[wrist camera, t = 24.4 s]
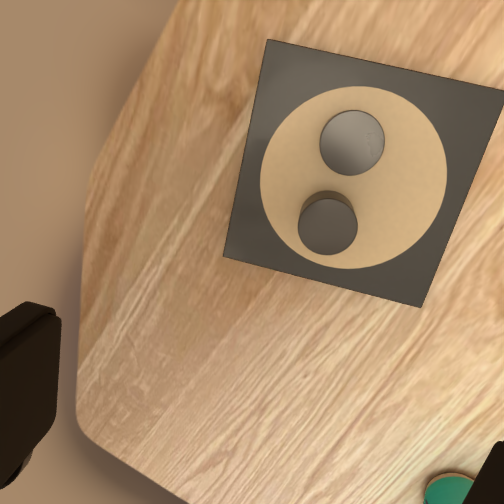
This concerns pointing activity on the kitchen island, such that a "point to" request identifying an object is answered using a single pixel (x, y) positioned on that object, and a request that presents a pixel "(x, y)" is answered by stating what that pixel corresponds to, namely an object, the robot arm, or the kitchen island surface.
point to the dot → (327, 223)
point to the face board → (363, 185)
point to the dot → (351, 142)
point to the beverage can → (447, 489)
